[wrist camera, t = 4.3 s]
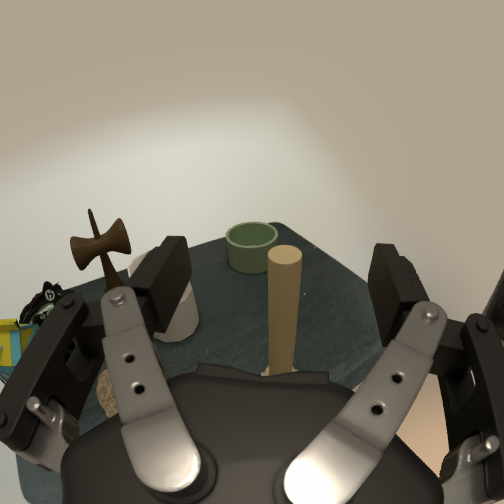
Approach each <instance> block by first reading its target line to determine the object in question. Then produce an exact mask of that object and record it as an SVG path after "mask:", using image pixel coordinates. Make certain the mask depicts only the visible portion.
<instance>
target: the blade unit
mask: <svg viewBox="0 0 504 504" xmlns="http://www.w3.org/2000/svg"><path fill="white" fill-rule="evenodd" d="M301 265H302V253H301V251H300V250H299V249H298V248H296V247H294V246H290V245H279V246H276V247H273V248H272V249H270V250H269V252H268V308H269V366H268V367H267V368H266V371H265V372H263V373H261V376H268V375H275V374H282V373H288V372H294V371H298V370H295V369H294V368H293V357H294V348H295V338H296V328H297V317H298V305H299V293H300V279H301Z"/></svg>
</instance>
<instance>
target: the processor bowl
mask: <svg viewBox="0 0 504 504" xmlns="http://www.w3.org/2000/svg"><path fill="white" fill-rule="evenodd" d="M226 246H227V256H228V262H229V265H230V266H231V267H232V268H233V269H234V270H236V271H238V272H241V273H245V274H258V273H263V272H266V271H268V252H269V250H270V249H272V248H273V247H276V246H278V232H277V230H276V229H275V228H274V227H273V226H271V225H269V224H266V223H261V222H246V223H241V224H238V225H235V226H234V227H232V228H230V229H229V230H228V231H227V233H226Z"/></svg>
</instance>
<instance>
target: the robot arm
mask: <svg viewBox="0 0 504 504" xmlns="http://www.w3.org/2000/svg"><path fill="white" fill-rule="evenodd" d="M191 272H192V268H191V262H190V256H189V251H188V246H187V241H186V238H185V237H184V236H167V237H166V238H165V240H164V241H163V242H162V244H161V245H160V246H159V247H155V248H154V249H152V250H151V251H150V252H148V253H147V254H146V256H145V257H144V258H143V260H142V262H141V263H140V264H139V265H138V268H136V270H135V271H134V272H133V274H132V275H131V277H130V278H129V279H128V281H127V282H126V284H125V285H124V286H122V287H116V288H114V289H111V290H110V291H108V292H107V293H106V294H105V295H104V296H103V297H102V299H101V301H96V302H88V303H86V301H85V299H84V297H83V296H82V295H81V294H80V293H70V294H67V295H65V296H63V297H62V298H61V299H60V300H59V301H58V302H57V303H56V304H55V306H54V307H53V309H52V310H51V311H50V313H49V314H48V316H47V317H46V319H45V320H44V322H43V323H42V325H41V326H40V328H39V329H38V331H37V332H36V334H35V335H34V337H33V338H32V340H31V341H30V343H29V345H28V346H27V348H26V349H25V351H24V353H23V354H22V356H21V358H20V359H19V361H18V363H17V364H16V366H15V368H14V370H13V371H12V373H11V375H10V377H9V379H8V380H7V382H6V384H5V386H4V388H3V390H2V392H1V394H0V441H1V442H3V443H4V444H5V445H7V446H8V447H9V448H10V449H11V450H12V451H14V452H15V453H17V454H18V455H20V456H21V457H23V458H25V459H26V460H28V461H30V462H31V463H34V464H36V465H38V466H40V467H41V468H43V469H45V470H47V471H55V472H57V473H59V474H60V475H61V482H62V491H63V501H62V504H493V503H495V502H498V501H500V500H503V499H504V270H503V272H502V275H501V277H500V279H499V281H498V283H497V285H496V288H495V290H494V292H493V294H492V296H491V298H490V300H489V302H488V303H487V305H486V307H485V309H484V311H483V313H482V314H478V313H475V314H471V315H469V317H468V318H467V320H466V322H465V323H463V322H459V321H455V320H451V319H448V318H447V315H446V313H445V311H444V310H443V309H442V308H441V307H440V306H439V305H437V304H435V303H433V302H430V300H429V298H428V296H427V293H426V291H425V289H424V287H423V285H422V283H421V281H420V280H419V277H418V274H417V273H416V270H415V268H414V267H413V265H412V263H411V262H410V261H408V260H407V259H406V258H405V257H404V256H399V254H398V252H397V250H396V248H395V246H394V244H382V243H377V244H376V245H375V247H374V251H373V257H372V261H371V265H370V270H369V274H368V288H369V292H370V296H371V300H372V303H373V307H374V311H375V316H376V320H377V324H378V328H379V333H380V337H381V342H382V346H383V347H387V348H386V350H385V351H384V353H383V354H382V356H381V357H380V359H379V360H378V362H377V363H376V364H375V366H374V367H373V369H372V370H371V372H370V373H369V374H368V376H367V377H366V379H365V380H364V381H363V383H362V384H361V385H360V387H359V388H358V389H357V391H356V392H354V391H352V390H350V389H349V388H347V387H345V386H343V385H341V384H338V383H335V382H331V381H329V372H314V371H294V372H288V373H282V374H275V375H268V376H259V375H255V374H252V373H249V372H246V371H243V370H240V369H237V368H234V367H231V366H224V365H216V364H208V363H200V362H199V363H198V366H197V370H196V371H193V372H187V373H183V374H179V375H177V376H174V377H172V378H170V379H169V377H168V375H167V372H166V370H165V368H164V365H163V363H162V360H161V358H160V355H159V353H158V350H157V348H156V345H155V343H154V340H153V338H152V337H153V335H154V333H155V332H157V333H164V334H165V333H166V331H167V328H168V326H169V324H170V322H171V320H172V317H173V315H174V313H175V311H176V309H177V306H178V304H179V302H180V300H181V298H182V296H183V294H184V291H185V289H186V287H187V285H188V283H189V281H190V278H191ZM72 340H73V342H74V343H75V345H76V346H75V348H74V350H73V352H72V354H71V355H70V357H69V359H68V361H67V363H66V364H65V361H64V355H65V352H66V350H67V348H68V346H69V345H70V343H71V341H72ZM104 359H106V364H107V369H108V373H109V378H110V382H111V386H112V390H113V394H114V398H115V401H116V405H117V409H118V413H117V414H115V415H113V416H112V417H110V418H109V419H107V420H106V421H104V422H102V423H101V424H99V425H98V426H96V427H94V428H93V429H91V430H90V431H88V432H86V433H85V434H83V435H81V436H80V435H79V425H78V422H77V421H78V419H79V416H80V414H81V411H82V409H83V407H84V404H85V402H86V399H87V397H88V395H89V392H90V390H91V388H92V385H93V383H94V381H95V379H96V376H97V374H98V372H99V370H100V368H101V365H102V363H103V361H104ZM471 370H472V372H473V375H474V379H475V386H474V382H473V378H472V375H471ZM428 373H431V374H435V375H437V376H438V380H439V386H440V391H441V396H442V401H443V407H444V413H445V419H446V427H447V434H448V443H449V453H448V454H447V455H446V456H445V458H444V459H443V462H442V466H441V470H440V473H439V475H440V477H439V478H438V477H437V476H436V474H435V473H434V472H433V471H432V470H431V469H430V468H429V467H428V466H427V465H426V464H425V463H424V462H423V461H422V460H421V459H420V458H419V457H418V456H417V455H416V454H415V453H414V452H413V451H412V450H411V449H410V448H409V447H408V446H407V445H406V444H405V443H404V442H403V441H402V440H401V439H400V438H399V437H398V436H397V434H396V432H397V430H398V429H399V427H400V425H401V424H402V422H403V420H404V419H405V417H406V415H407V413H408V412H409V410H410V408H411V406H412V404H413V403H414V401H415V399H416V397H417V395H418V393H419V391H420V389H421V387H422V385H423V383H424V381H425V379H426V377H427V375H428Z"/></svg>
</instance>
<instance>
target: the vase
mask: <svg viewBox="0 0 504 504" xmlns="http://www.w3.org/2000/svg"><path fill="white" fill-rule="evenodd" d="M150 251H151V250H150ZM150 251H147V252H145V253H143V254H141V255H140V256H138V257H136V258H135V259H134V260H133V261H132V263H131V264H130V265H129V267H128V268H127V269H128V274H129V278H130V277H131V275H132V274H133V272H134V271H135V270H136V268H138V265H139V264H140V263H141V262H142V260H143V258H144V257H145V256H146V254H147V253H148V252H150ZM198 323H199V317H198V312H197V306H196V302H195V298H194V294H193V290H192V287H191V284H190V281H189V283H188V285H187V287H186V289H185V291H184V294H183V296H182V298H181V300H180V302H179V304H178V306H177V309H176V311H175V313H174V315H173V317H172V320H171V322H170V324H169V326H168V328H167V331H166V333H165V334H164V333H157V332H155V333H154V335H153V337H154V338H156V339H158V340H160V341H163V342H165V343H169V342H177V341H182V340H184V339H185V338H187V337H188V336H190V335H192V334H193V333H194V331H195V329H196V327H197V325H198Z"/></svg>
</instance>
